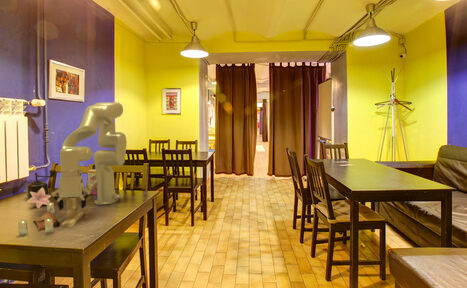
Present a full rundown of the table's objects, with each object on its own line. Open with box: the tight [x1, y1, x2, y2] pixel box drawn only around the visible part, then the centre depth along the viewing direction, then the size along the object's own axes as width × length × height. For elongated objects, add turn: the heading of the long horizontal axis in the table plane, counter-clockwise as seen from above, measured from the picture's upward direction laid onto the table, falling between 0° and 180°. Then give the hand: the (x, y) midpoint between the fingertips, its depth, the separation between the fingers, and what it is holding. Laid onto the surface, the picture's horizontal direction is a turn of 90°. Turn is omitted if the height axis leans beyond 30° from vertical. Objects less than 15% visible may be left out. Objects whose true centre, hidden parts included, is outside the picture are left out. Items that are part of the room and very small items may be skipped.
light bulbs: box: [17, 201, 55, 237], centre depth 127 cm, size 13×29×6 cm, turn 12°
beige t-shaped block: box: [61, 197, 84, 229], centre depth 129 cm, size 4×16×12 cm, turn 12°
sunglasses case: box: [32, 211, 61, 232], centre depth 127 cm, size 18×7×7 cm, turn 45°
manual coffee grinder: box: [25, 169, 57, 201], centre depth 170 cm, size 16×11×18 cm
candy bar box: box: [86, 169, 97, 196], centre depth 177 cm, size 11×5×16 cm, turn 86°
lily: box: [26, 188, 52, 209], centre depth 153 cm, size 12×12×10 cm
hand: (72, 208), depth 129 cm, fingers open, 9 cm apart
